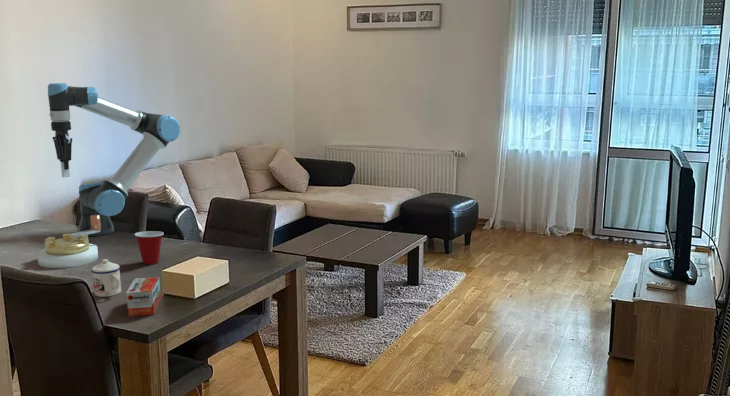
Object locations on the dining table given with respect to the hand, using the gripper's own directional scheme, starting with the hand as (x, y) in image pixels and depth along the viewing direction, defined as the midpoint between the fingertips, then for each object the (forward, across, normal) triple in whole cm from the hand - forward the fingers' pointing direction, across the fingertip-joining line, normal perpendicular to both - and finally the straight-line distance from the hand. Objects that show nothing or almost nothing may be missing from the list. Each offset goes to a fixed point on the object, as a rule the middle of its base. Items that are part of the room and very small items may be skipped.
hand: (66, 176), depth 295 cm
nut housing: (+29, +22, -12) cm, 39 cm away
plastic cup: (+30, +50, +7) cm, 59 cm away
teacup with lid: (+30, +73, -22) cm, 82 cm away
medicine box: (+30, +94, -22) cm, 101 cm away
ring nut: (+25, +22, -9) cm, 35 cm away
